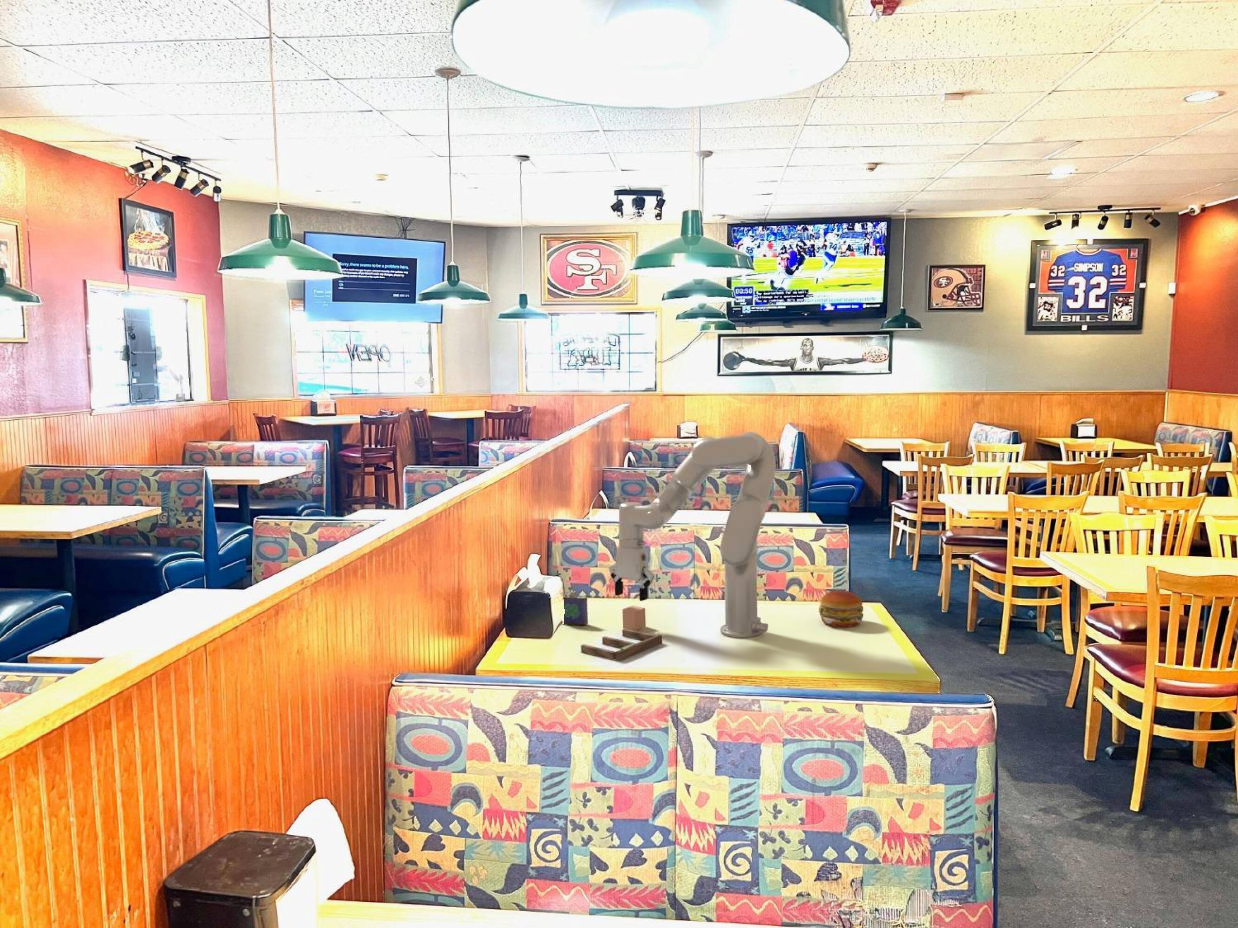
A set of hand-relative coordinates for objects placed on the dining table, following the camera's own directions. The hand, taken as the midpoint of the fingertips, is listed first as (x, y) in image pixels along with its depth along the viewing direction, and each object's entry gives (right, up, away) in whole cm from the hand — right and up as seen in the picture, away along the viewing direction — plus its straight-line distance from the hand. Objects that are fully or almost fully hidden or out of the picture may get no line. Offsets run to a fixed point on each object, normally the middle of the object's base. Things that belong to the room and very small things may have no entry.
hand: (631, 597), depth 273 cm
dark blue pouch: (-18, -10, +6) cm, 21 cm away
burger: (+64, -8, -1) cm, 65 cm away
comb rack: (-4, -12, -19) cm, 22 cm away
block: (+1, -9, +1) cm, 10 cm away
